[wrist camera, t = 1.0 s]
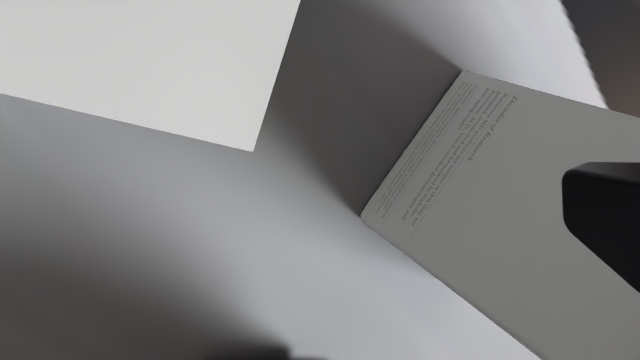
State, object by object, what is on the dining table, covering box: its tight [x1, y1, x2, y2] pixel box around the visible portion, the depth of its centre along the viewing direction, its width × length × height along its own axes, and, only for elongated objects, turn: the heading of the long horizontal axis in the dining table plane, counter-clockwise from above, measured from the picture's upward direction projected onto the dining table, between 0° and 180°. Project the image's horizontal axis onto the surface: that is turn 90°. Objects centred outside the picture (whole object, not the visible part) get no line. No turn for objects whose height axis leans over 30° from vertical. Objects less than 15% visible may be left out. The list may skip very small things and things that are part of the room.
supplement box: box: [361, 70, 640, 360], centre depth 21 cm, size 7×7×13 cm
